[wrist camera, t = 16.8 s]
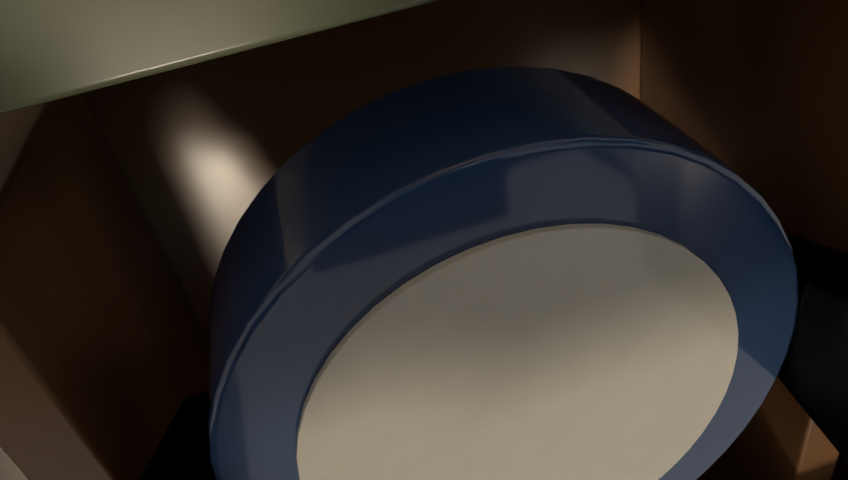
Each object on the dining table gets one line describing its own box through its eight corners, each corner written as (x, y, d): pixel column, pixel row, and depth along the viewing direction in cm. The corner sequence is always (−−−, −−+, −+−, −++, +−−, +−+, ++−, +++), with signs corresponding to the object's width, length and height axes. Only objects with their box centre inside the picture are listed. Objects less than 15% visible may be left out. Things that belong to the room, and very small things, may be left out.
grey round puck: (714, 316, 12) (827, 439, 10) (362, 503, 13) (395, 660, 10) (613, -69, 8) (771, -7, 6) (85, 229, 8) (40, 397, 6)
